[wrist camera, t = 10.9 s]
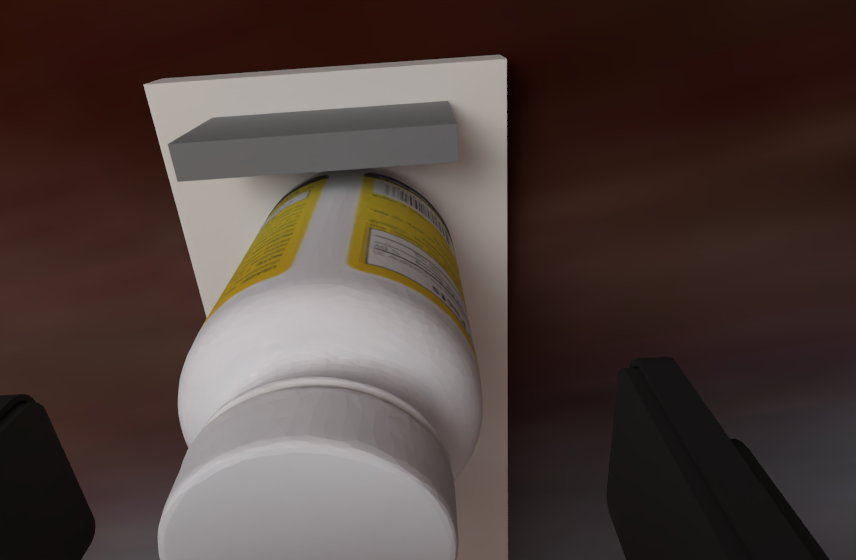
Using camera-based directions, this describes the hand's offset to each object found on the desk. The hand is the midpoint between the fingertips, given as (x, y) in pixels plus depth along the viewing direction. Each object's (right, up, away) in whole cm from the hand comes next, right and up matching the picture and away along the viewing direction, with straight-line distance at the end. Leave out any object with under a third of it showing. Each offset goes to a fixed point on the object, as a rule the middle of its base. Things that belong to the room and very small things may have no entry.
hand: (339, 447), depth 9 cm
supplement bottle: (0, +4, +7) cm, 8 cm away
